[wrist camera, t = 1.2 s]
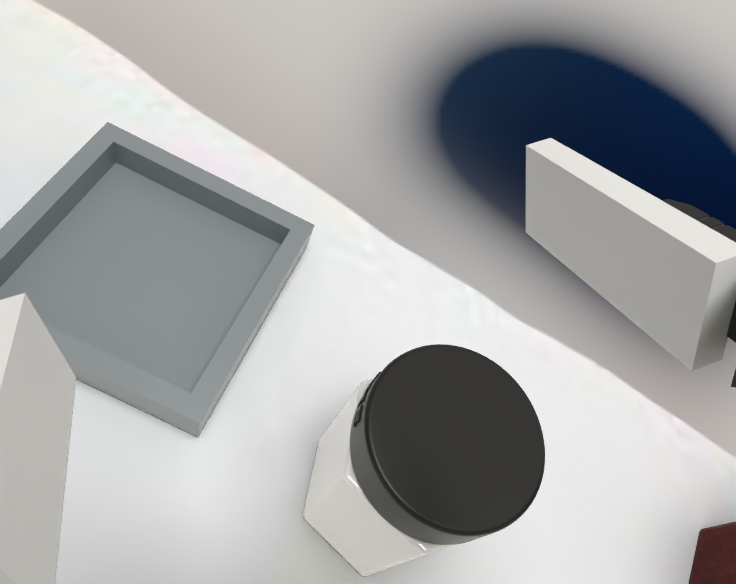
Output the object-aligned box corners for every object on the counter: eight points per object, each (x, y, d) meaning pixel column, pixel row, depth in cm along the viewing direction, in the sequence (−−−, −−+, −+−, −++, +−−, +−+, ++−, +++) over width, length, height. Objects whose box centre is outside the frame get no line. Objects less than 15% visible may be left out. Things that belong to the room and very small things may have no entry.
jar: (416, 408, 38) (504, 324, 28) (467, 538, 35) (587, 495, 25) (281, 445, 35) (328, 364, 25) (324, 595, 31) (398, 571, 22)
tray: (-51, 318, 33) (-66, 295, 31) (110, 149, 41) (107, 121, 39) (197, 437, 34) (200, 422, 31) (306, 246, 42) (314, 225, 40)
